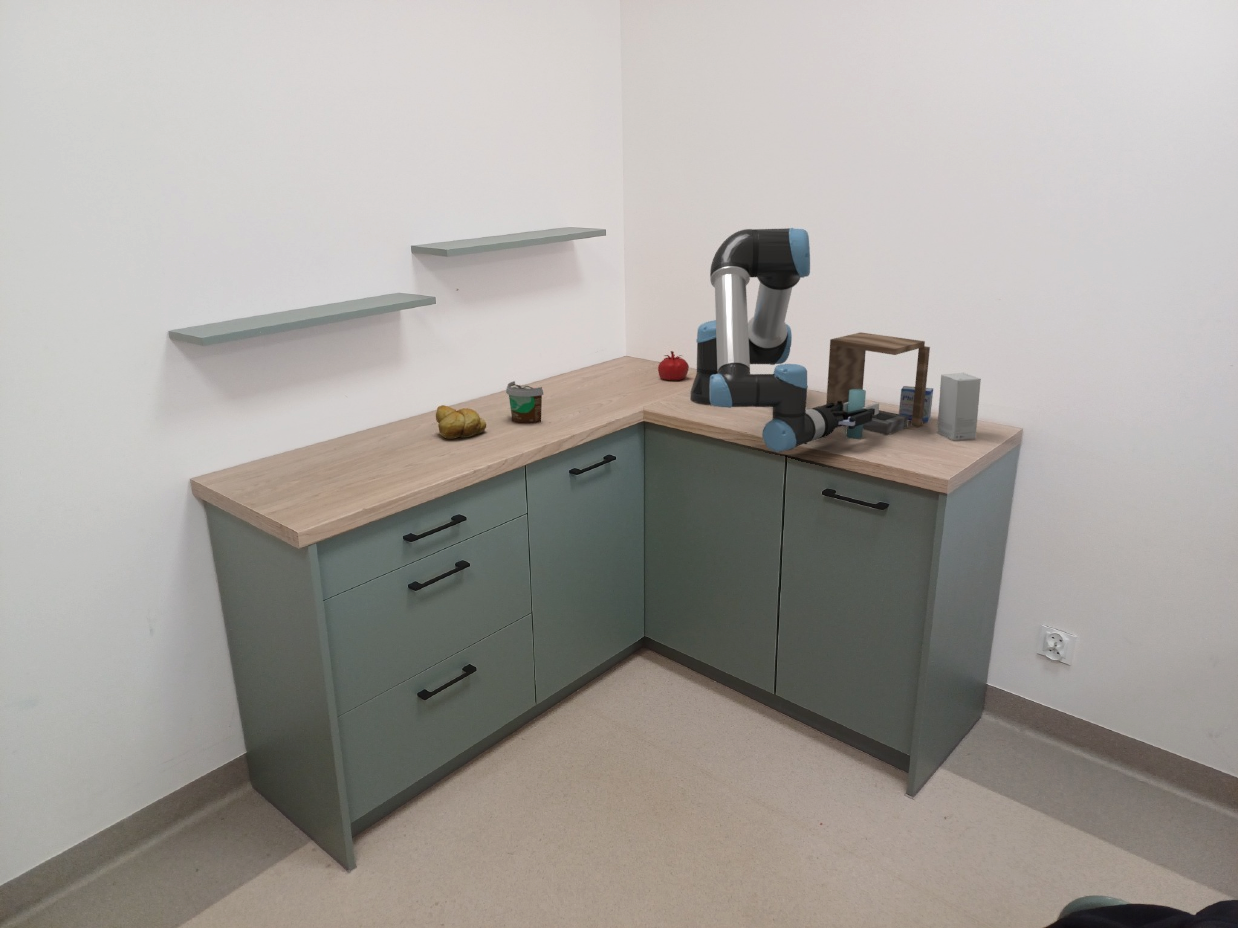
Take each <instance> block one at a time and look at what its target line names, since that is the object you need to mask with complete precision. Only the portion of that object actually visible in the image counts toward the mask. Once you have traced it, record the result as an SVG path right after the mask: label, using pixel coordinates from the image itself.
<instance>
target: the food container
mask: <svg viewBox="0 0 1238 928" xmlns="http://www.w3.org/2000/svg"><path fill="white" fill-rule="evenodd" d="M505 389H506V390H505V394H506V395H508V399H509V405H510V413H511V420H512V422H513V423H514V424H515V423H516V424H522V425H529V424H537V423H538V424H539V423H542V405H543V404H542V402H543V399H542V397H543V395H544V390H543V387H541V386H539V387H534V388H533V387H531V386H529V385H521V384H519V385H518V384H516V380H514V381H511V382H509V383H507V386H506V388H505Z"/></svg>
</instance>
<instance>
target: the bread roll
mask: <svg viewBox="0 0 1238 928" xmlns="http://www.w3.org/2000/svg"><path fill="white" fill-rule="evenodd" d="M435 420H436V422H437V423H438V424H437V426H438V427H437V428H438V431H439V433H440V435H441V436H442V437H443V438H444V439H448V440H452V439H457V438H459V437H460V438H469V437H473V436H475V435H480V434H481V433H482V432H484V431H485V430H486V428H487V421H485V419H483V418H482V417H480V415H479V413H478V412H477V411H476V410H474V409H471V408H467V407H465V408H459V409H458V410H456V409H455V408H452V407H450V406H448V405H447V406H446V405H444V404H442V405H439V406H437V408H436V412H435Z"/></svg>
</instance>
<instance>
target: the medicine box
mask: <svg viewBox="0 0 1238 928" xmlns="http://www.w3.org/2000/svg"><path fill="white" fill-rule="evenodd" d="M914 393H915V386H909V385H902V388H901V389H900V399H899V409H898V414H900V415H905V416H908V422H912V414H913V403H914ZM933 395H934V388H932V387H926V393H925V403H924V413H923V423H929V422H930V420H931V415H932V406H933V398H934V397H933Z"/></svg>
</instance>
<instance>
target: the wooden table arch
mask: <svg viewBox="0 0 1238 928" xmlns="http://www.w3.org/2000/svg"><path fill="white" fill-rule="evenodd" d="M829 341H830V342H829V352H828V353H829V356H828V371H827V372H828V373H827V374H828V375H827V386H826V387H827V388H826V401H825V403H826V404H829V403H834V405H836V404H837V401H842V404H843V403H846V402H849V390H851V389H862V390H864V379H865V364H866V354H867V353H866V352H872V353H873V352H874V353H879V354H887V355H890V356H891V355H893V356H897V355H900V354H905V353H907V352H910V351H916V350H918V351H917V361H916V372H915V374H916V375H915V384H914V387H915V393H914V403H913V414H912V421H911V427H916V428H920V427H922V426H923V423H924V422H923V413H924V403H925V393H926V388H927V382H928V381H927V380H928V373H929V372H928V370H929V360H930V353H931V351H930V349H931V346H926V345H925V344H926V341H925V340H918V339H912V338H910V339H909V338H905V337H904V338H903V337H898V336H897V337H896V336H890V335H883V334H875V333H869V332H857V333H852V334H847V335H844V336H839V337H834V338H831V339H830V340H829ZM826 404H825V405H826ZM908 425H909V421H908V416H905V415H900V414H899V413H894V412H890V411H885V410H881V409H879V414H876V415H873V416H872V421H871V422H868V423H865V424H863V431H867V432H872V433H876V434H880V435H884V436H888V435H890V434H893V433H896V432H898V431H901V430H904V429H906V428H908Z"/></svg>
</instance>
